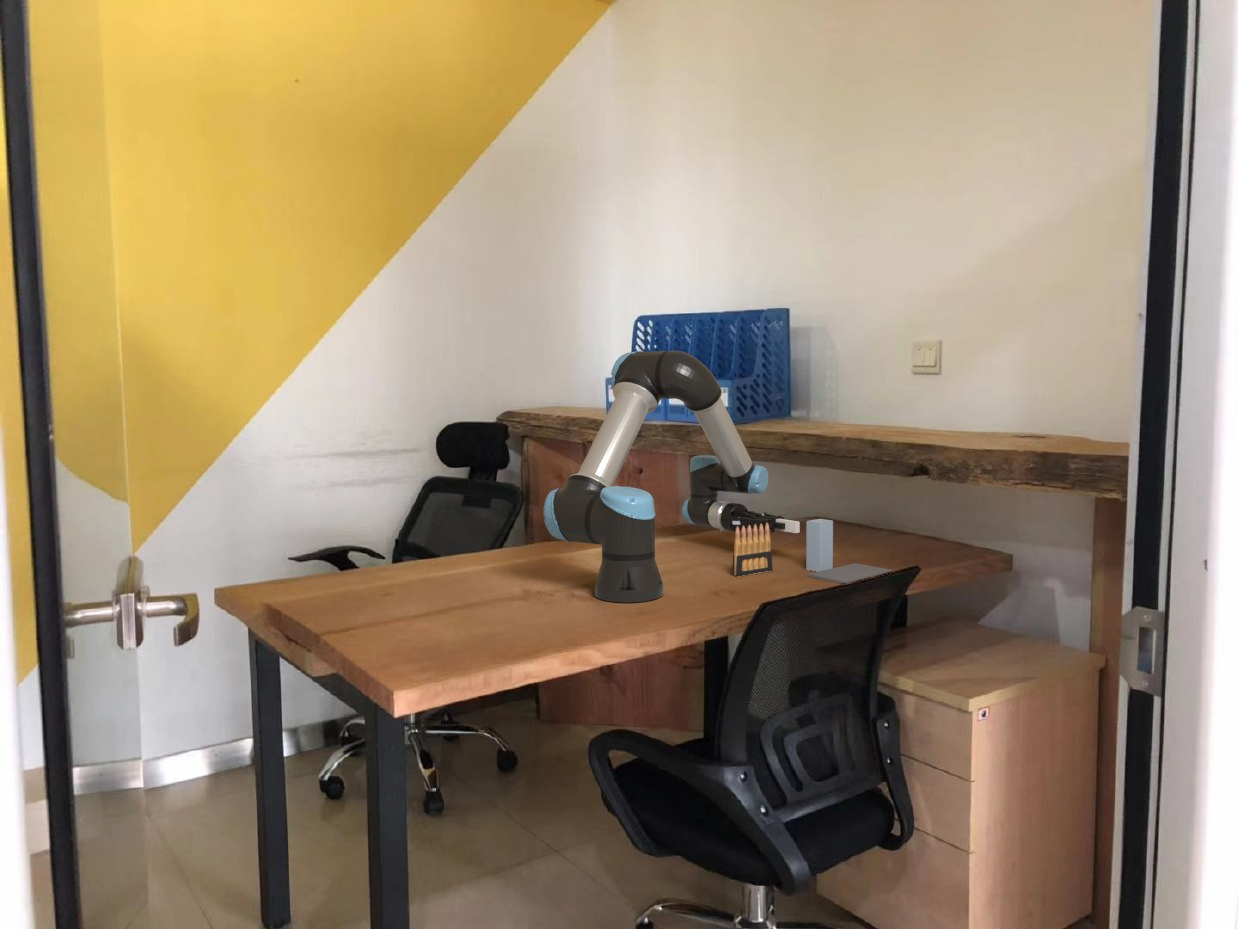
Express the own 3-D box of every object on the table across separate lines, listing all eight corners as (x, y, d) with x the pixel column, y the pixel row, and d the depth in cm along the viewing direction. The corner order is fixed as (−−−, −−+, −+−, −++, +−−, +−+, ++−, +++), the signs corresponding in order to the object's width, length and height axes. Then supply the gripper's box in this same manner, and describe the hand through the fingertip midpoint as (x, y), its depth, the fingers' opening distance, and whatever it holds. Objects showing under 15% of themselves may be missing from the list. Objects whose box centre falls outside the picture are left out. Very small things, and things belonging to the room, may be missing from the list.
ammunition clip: (736, 577, 223) (736, 527, 222) (732, 575, 225) (731, 526, 223) (772, 571, 228) (772, 522, 227) (767, 570, 230) (767, 521, 229)
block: (819, 572, 226) (819, 523, 225) (806, 569, 230) (806, 521, 228) (832, 569, 230) (833, 520, 228) (819, 566, 233) (819, 518, 231)
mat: (845, 584, 214) (845, 582, 214) (807, 576, 222) (807, 574, 222) (893, 572, 225) (893, 570, 225) (855, 565, 233) (855, 563, 233)
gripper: (746, 527, 257) (814, 538, 239) (711, 533, 249) (780, 545, 231) (746, 500, 256) (814, 509, 238) (711, 505, 248) (780, 515, 230)
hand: (797, 527), depth 234 cm, fingers closed
